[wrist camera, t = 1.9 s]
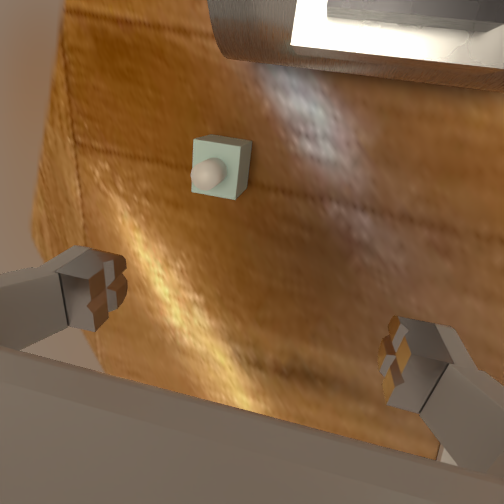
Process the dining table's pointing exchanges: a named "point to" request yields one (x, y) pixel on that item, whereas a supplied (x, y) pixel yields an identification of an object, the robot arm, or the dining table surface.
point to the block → (220, 166)
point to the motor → (370, 37)
